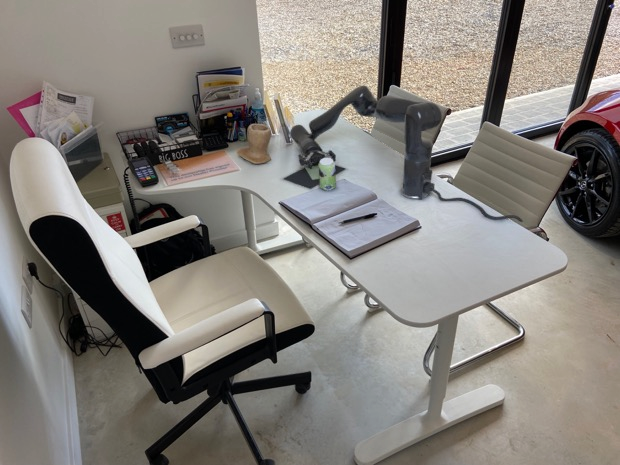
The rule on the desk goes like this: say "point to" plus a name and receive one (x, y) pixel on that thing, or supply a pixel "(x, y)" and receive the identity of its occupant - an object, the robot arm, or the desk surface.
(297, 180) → the desk mat
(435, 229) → the desk surface
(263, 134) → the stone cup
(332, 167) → the beverage can
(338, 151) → the desk surface
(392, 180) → the desk surface
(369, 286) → the desk surface
